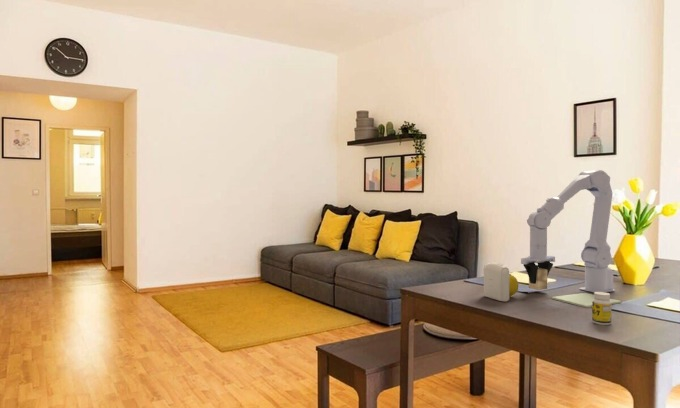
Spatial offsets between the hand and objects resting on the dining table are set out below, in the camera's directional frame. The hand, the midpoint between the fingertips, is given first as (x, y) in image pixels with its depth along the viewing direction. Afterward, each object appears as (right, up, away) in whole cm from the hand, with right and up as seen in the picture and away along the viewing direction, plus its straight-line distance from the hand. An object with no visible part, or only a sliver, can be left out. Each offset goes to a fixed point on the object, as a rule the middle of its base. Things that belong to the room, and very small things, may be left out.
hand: (538, 282), depth 180 cm
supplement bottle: (+2, -5, -41) cm, 41 cm away
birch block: (0, -2, 0) cm, 2 cm away
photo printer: (-18, -4, -10) cm, 21 cm away
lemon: (-13, -4, -8) cm, 16 cm away
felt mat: (+10, -4, -14) cm, 18 cm away
